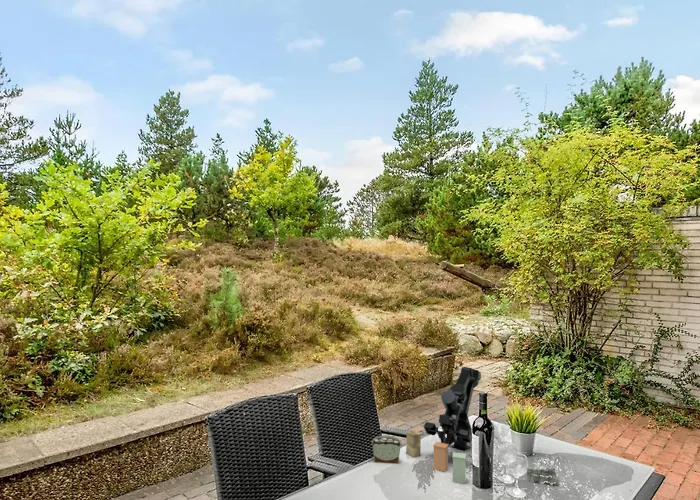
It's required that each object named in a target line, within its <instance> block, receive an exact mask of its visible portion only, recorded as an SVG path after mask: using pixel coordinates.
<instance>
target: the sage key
mask: <svg viewBox="0 0 700 500" xmlns="http://www.w3.org/2000/svg"><path fill="white" fill-rule="evenodd" d="M451 458H452V482H453V483H457V484H458V483H459V484H466V461H467V453H463V452H454V451H452V457H451Z"/></svg>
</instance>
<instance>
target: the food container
mask: <svg viewBox="0 0 700 500" xmlns="http://www.w3.org/2000/svg"><path fill="white" fill-rule="evenodd" d="M370 446H372V452H373V462H374V463H382V464H397V465H398V464H399V462H400V461H399V460H400V453H401V448H403V445H402V442H401V439H399V438H397V437H395V436H390V435H380V436H376V437H374V438H373V439H372V441H371V444H370Z"/></svg>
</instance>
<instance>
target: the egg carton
mask: <svg viewBox="0 0 700 500" xmlns="http://www.w3.org/2000/svg"><path fill="white" fill-rule="evenodd" d="M540 475H543V476H544V477H542V476H540ZM549 475H551V476H552V478H549V477H545V476H549ZM557 477H558V476H557V474H556V468H551V467H546V468H545V469H544V468H541V469H539V468H530V467H526V480H527V481H529V480H530V481H529V482H530V483H534V482H533V481H535V482H536V481H540V482H544V481H548V482H550V483H554V482H556V483H557V479H558V478H557Z"/></svg>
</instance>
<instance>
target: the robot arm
mask: <svg viewBox="0 0 700 500" xmlns="http://www.w3.org/2000/svg"><path fill="white" fill-rule="evenodd" d="M481 378H482V373H481V371H480V370H478V369H474V368H472V367H467V366H462V367H461V369H460V374H459V376H458V378H457V379H456V382H455V384H453V385H451V386H450V387H449V388H447V391H445V392H443V393H442V394H441V401H442V404H443V407H444V408H445V412H444V414H439V416H438V417H439V418H438V424H439V426H437V425H436V423H434V422H429V421H426V422H425V423H424V426H423V429H424V431H425V433H426V434H427V435H431V436H436V435H437V436H438V438H439V440H440V443H445V444H449V446H448V448H449V447H450V448H451V449H454V450H458V451H461V452H465V451H467V450H468V449H470V448H471V446H470V445H468V444H471V443H472V438H473V437H472V435H473V432H472V431H473V430H472V426H471V423H470V419H469V416H468V415H469V410H470V407H471V406H470V405H471V402H472V396H473V394H474V389H475V388H476V387H477V386H478V385H479V383H480V381H481V380H482V379H481Z"/></svg>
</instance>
